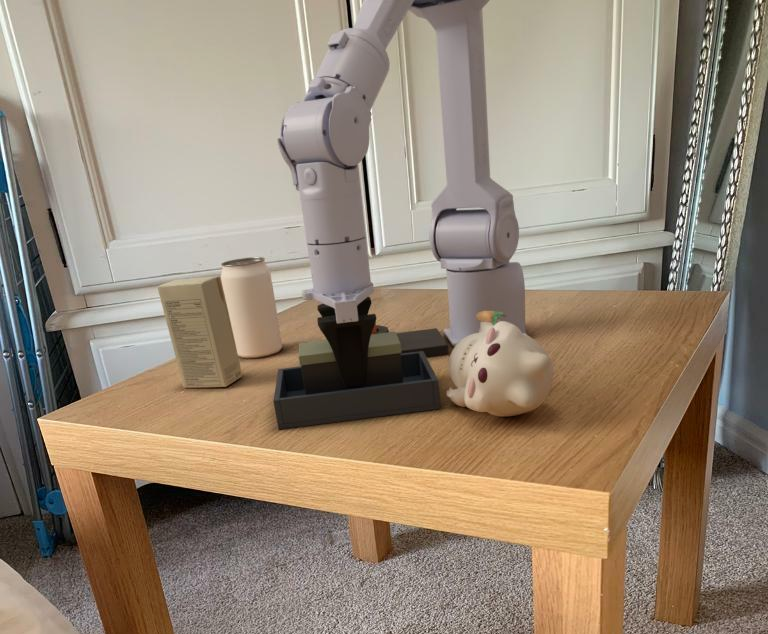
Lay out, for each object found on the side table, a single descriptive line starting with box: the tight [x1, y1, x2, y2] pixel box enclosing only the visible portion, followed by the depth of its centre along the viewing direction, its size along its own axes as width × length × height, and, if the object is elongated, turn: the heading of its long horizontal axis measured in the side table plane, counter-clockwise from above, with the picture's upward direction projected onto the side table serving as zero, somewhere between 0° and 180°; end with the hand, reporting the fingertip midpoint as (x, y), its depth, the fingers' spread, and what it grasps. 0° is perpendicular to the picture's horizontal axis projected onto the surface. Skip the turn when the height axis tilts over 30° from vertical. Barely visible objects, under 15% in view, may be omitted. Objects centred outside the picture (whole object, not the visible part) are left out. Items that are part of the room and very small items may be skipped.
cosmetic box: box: [157, 275, 243, 389], centre depth 89 cm, size 6×4×12 cm
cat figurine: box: [445, 311, 554, 417], centre depth 71 cm, size 10×8×15 cm
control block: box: [374, 324, 449, 358], centre depth 95 cm, size 13×9×3 cm
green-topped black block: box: [298, 331, 403, 395], centre depth 78 cm, size 10×5×5 cm, turn 95°
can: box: [220, 256, 283, 360], centre depth 100 cm, size 6×6×12 cm
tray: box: [272, 351, 441, 430], centre depth 79 cm, size 16×11×3 cm
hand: (353, 377), depth 78 cm, fingers closed on green-topped black block, 5 cm apart
